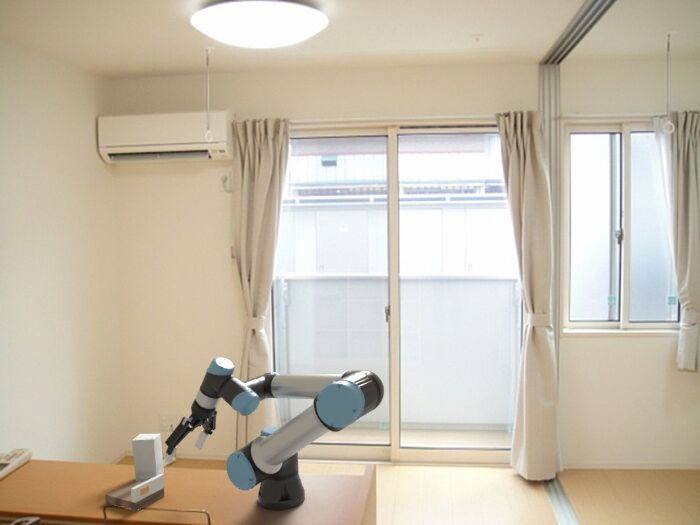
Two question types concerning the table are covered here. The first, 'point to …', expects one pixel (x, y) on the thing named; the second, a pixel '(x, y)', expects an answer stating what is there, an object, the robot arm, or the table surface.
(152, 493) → the square wooden base
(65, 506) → the table surface
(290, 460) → the robot arm
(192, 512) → the table surface
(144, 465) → the skincare box
